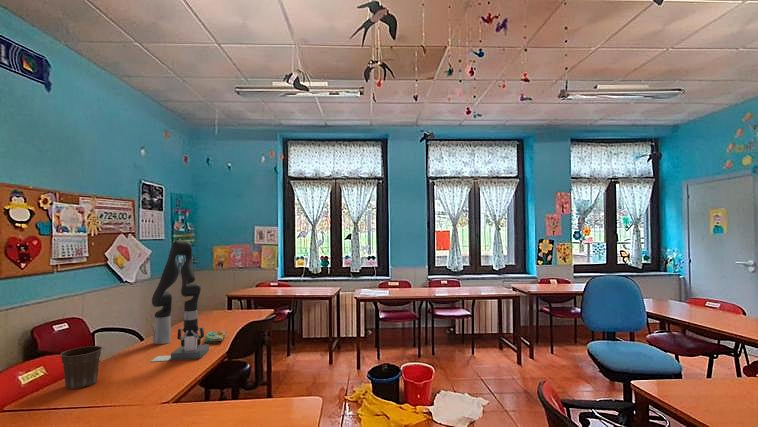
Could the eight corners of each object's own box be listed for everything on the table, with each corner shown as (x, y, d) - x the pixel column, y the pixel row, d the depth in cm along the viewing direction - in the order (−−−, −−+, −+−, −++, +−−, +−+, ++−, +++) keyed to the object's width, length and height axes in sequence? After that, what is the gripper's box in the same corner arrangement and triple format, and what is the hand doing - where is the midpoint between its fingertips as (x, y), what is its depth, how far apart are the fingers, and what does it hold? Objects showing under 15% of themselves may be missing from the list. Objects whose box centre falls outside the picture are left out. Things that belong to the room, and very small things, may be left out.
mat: (150, 362, 223) (150, 361, 223) (157, 357, 232) (157, 356, 232) (167, 361, 224) (167, 360, 224) (173, 356, 233) (173, 355, 233)
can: (193, 353, 238) (193, 333, 239) (198, 355, 234) (198, 334, 235) (182, 356, 233) (182, 335, 234) (187, 358, 229) (187, 337, 230)
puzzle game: (226, 329, 278) (222, 337, 258) (226, 336, 277) (222, 344, 258) (208, 331, 275) (202, 338, 255) (208, 337, 275) (202, 345, 255)
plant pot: (52, 393, 181) (52, 357, 182) (69, 380, 196) (70, 347, 197) (93, 388, 185) (93, 353, 186) (107, 376, 201) (107, 344, 201)
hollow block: (170, 360, 225) (170, 353, 225) (181, 352, 241) (181, 345, 241) (200, 359, 227) (200, 352, 227) (208, 350, 243) (208, 344, 243)
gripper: (205, 316, 239) (205, 343, 239) (180, 317, 238) (180, 344, 237) (201, 318, 232) (201, 347, 231) (175, 320, 230) (175, 348, 229)
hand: (190, 345), depth 234 cm, fingers open, 8 cm apart
